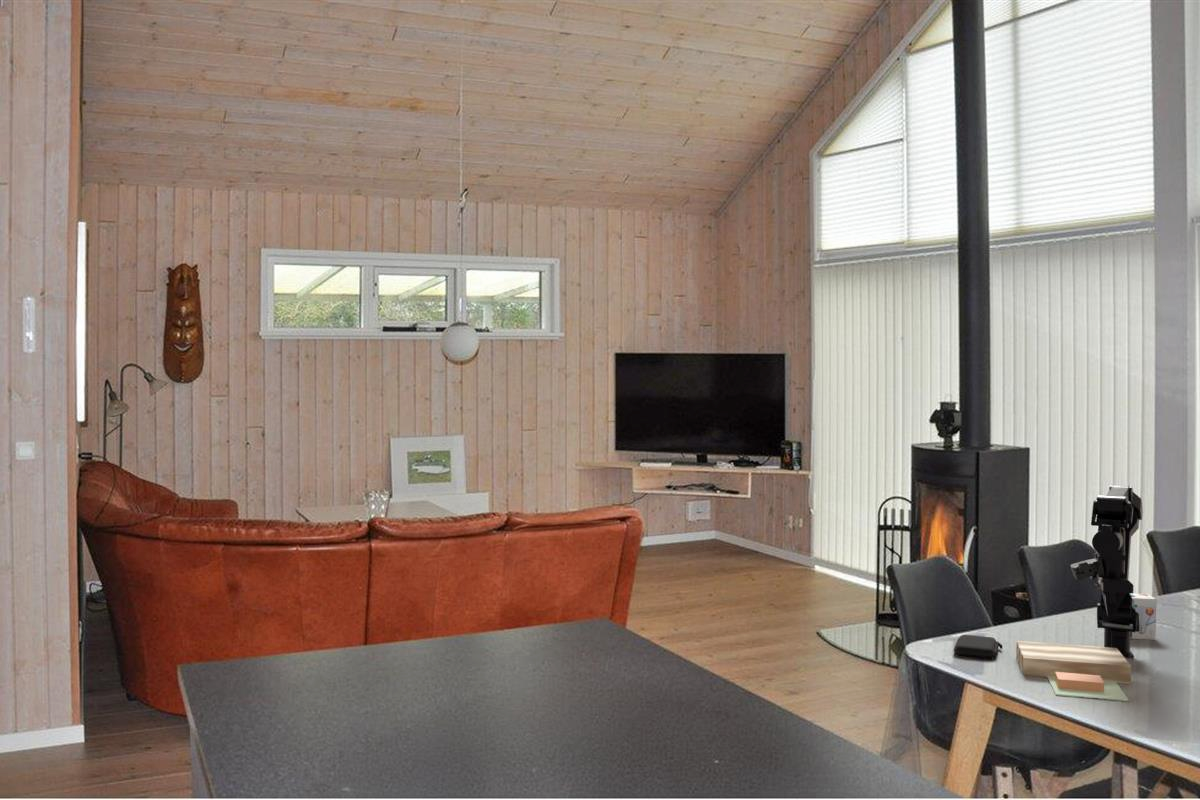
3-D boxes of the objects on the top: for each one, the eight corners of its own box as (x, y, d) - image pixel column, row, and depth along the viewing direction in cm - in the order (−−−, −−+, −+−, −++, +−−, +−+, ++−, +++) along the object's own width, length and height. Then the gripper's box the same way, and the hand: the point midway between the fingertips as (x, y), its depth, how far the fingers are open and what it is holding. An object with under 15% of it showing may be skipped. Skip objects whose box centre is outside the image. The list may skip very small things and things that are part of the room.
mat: (1047, 677, 230) (1047, 675, 230) (1115, 682, 226) (1115, 681, 226) (1055, 695, 217) (1055, 693, 217) (1128, 701, 213) (1128, 700, 213)
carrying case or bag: (1000, 663, 243) (1003, 648, 256) (1000, 650, 243) (1003, 636, 256) (952, 658, 247) (958, 644, 261) (952, 645, 247) (958, 632, 261)
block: (1058, 679, 221) (1058, 688, 221) (1104, 683, 218) (1104, 692, 218) (1055, 671, 227) (1055, 680, 227) (1099, 675, 224) (1099, 684, 224)
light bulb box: (1112, 638, 267) (1113, 597, 266) (1104, 632, 273) (1105, 591, 273) (1157, 640, 265) (1157, 598, 264) (1148, 633, 271) (1148, 593, 271)
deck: (1016, 657, 247) (1016, 640, 247) (1116, 664, 241) (1116, 648, 241) (1023, 675, 232) (1023, 657, 232) (1130, 683, 226) (1131, 666, 225)
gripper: (1067, 542, 249) (1066, 605, 250) (1079, 554, 231) (1079, 622, 232) (1117, 544, 246) (1117, 608, 246) (1134, 556, 228) (1133, 626, 229)
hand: (1110, 616), depth 238 cm, fingers closed
